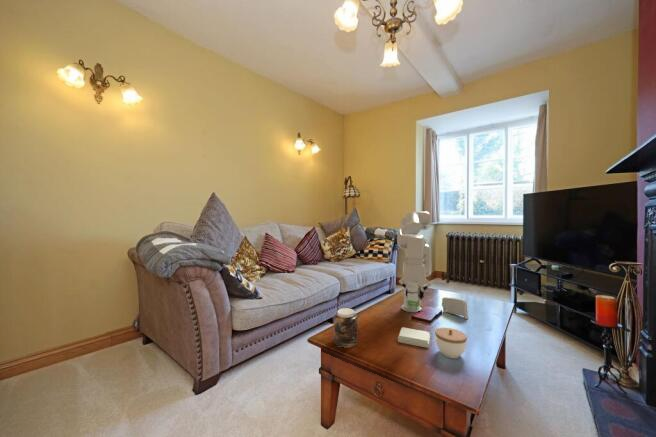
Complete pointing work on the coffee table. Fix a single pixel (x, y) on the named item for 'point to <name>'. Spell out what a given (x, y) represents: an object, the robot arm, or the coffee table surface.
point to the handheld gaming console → (455, 306)
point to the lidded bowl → (450, 342)
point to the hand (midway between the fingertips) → (414, 297)
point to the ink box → (413, 294)
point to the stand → (414, 337)
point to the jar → (345, 328)
